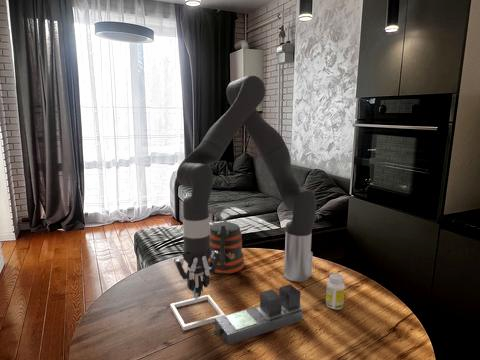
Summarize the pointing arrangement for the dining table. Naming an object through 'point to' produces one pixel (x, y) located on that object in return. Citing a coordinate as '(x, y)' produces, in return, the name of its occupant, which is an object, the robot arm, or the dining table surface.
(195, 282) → the push button
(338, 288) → the supplement bottle
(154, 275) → the dining table surface
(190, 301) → the empty frame
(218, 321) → the power strip
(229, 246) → the beer stein
